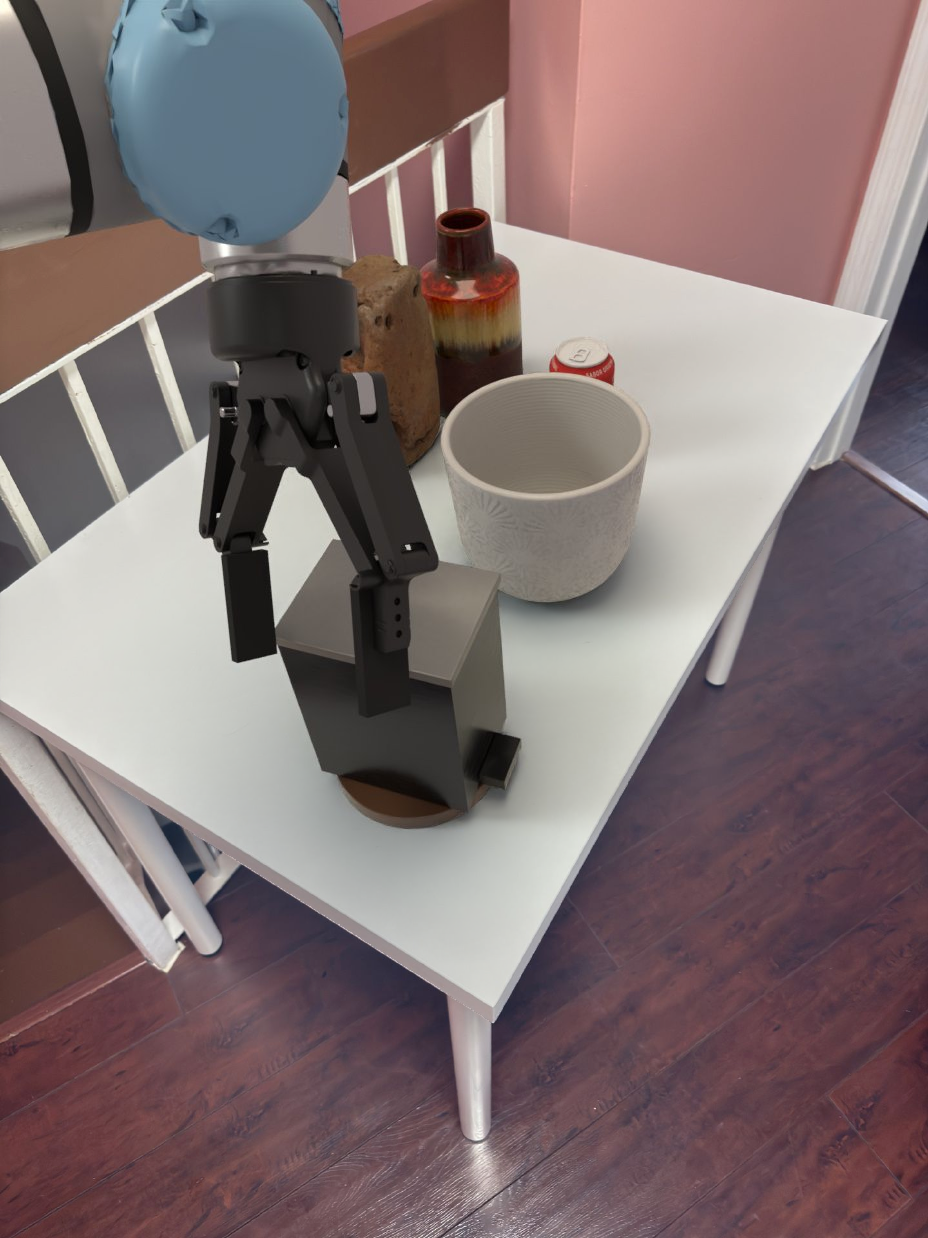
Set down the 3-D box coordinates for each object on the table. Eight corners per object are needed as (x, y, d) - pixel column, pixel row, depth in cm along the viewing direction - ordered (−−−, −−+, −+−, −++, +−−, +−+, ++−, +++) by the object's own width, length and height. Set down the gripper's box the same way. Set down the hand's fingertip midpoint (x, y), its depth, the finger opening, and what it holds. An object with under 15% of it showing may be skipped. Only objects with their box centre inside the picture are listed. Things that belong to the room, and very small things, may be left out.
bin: (493, 823, 66) (479, 687, 54) (317, 772, 70) (269, 636, 58) (532, 721, 71) (527, 578, 60) (368, 679, 75) (332, 538, 64)
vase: (434, 369, 108) (414, 196, 93) (525, 367, 107) (520, 191, 92) (424, 423, 101) (401, 246, 86) (521, 422, 100) (515, 242, 85)
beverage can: (564, 428, 99) (564, 328, 90) (619, 441, 97) (625, 340, 88) (540, 461, 95) (538, 361, 86) (596, 476, 93) (600, 374, 84)
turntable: (370, 856, 66) (367, 846, 65) (314, 726, 75) (310, 716, 73) (529, 785, 69) (528, 774, 68) (458, 668, 78) (456, 657, 76)
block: (393, 415, 103) (366, 243, 88) (450, 432, 100) (432, 256, 85) (339, 471, 97) (300, 296, 82) (398, 490, 94) (369, 312, 79)
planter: (661, 526, 87) (676, 391, 76) (602, 653, 77) (610, 519, 66) (499, 488, 93) (490, 356, 82) (425, 601, 83) (404, 470, 72)
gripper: (505, 248, 39) (517, 718, 44) (233, 303, 57) (264, 629, 62) (359, 234, 34) (391, 762, 39) (114, 299, 53) (158, 652, 58)
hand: (313, 681), depth 51 cm, fingers open, 13 cm apart
